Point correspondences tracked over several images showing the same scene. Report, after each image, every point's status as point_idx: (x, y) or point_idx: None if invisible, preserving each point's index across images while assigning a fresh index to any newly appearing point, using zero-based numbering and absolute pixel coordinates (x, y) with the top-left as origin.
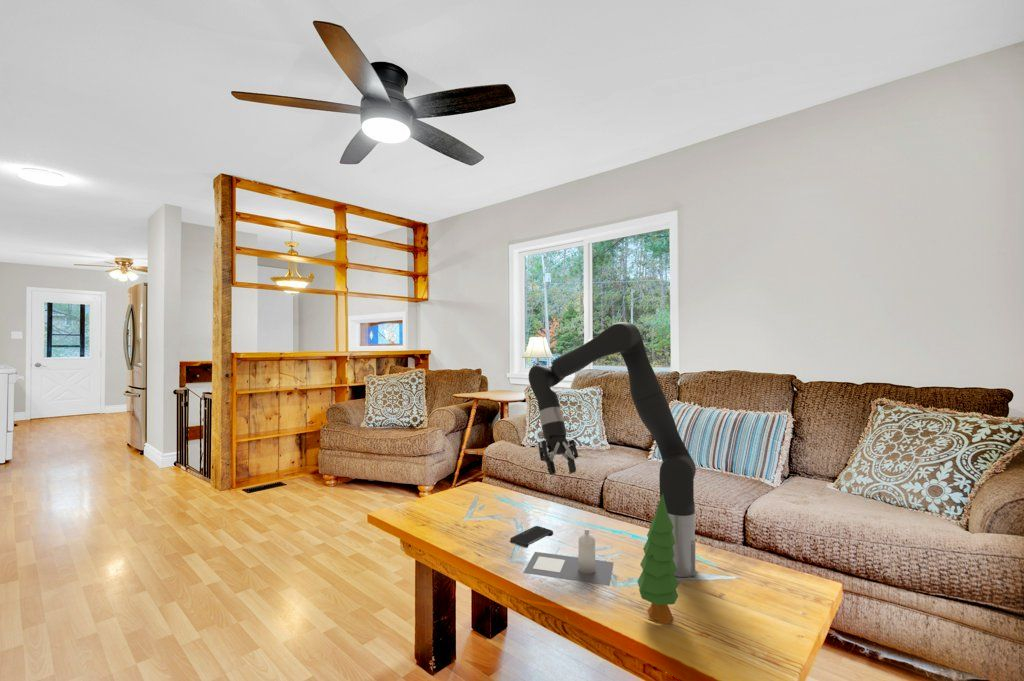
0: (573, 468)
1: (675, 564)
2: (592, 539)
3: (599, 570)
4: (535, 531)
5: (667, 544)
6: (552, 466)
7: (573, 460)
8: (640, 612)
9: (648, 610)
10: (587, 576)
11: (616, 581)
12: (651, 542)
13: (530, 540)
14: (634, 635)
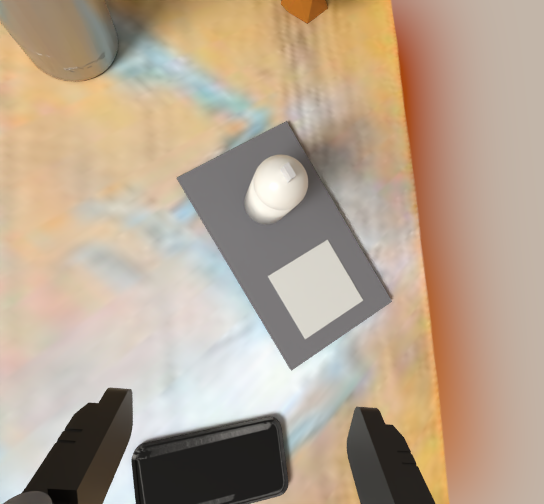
0: (118, 411)
1: (106, 5)
2: (284, 155)
3: (244, 178)
4: (180, 490)
5: None
6: (398, 461)
7: (32, 499)
8: (316, 30)
9: (313, 9)
10: None
11: (248, 127)
12: None
13: (246, 441)
14: (383, 8)
